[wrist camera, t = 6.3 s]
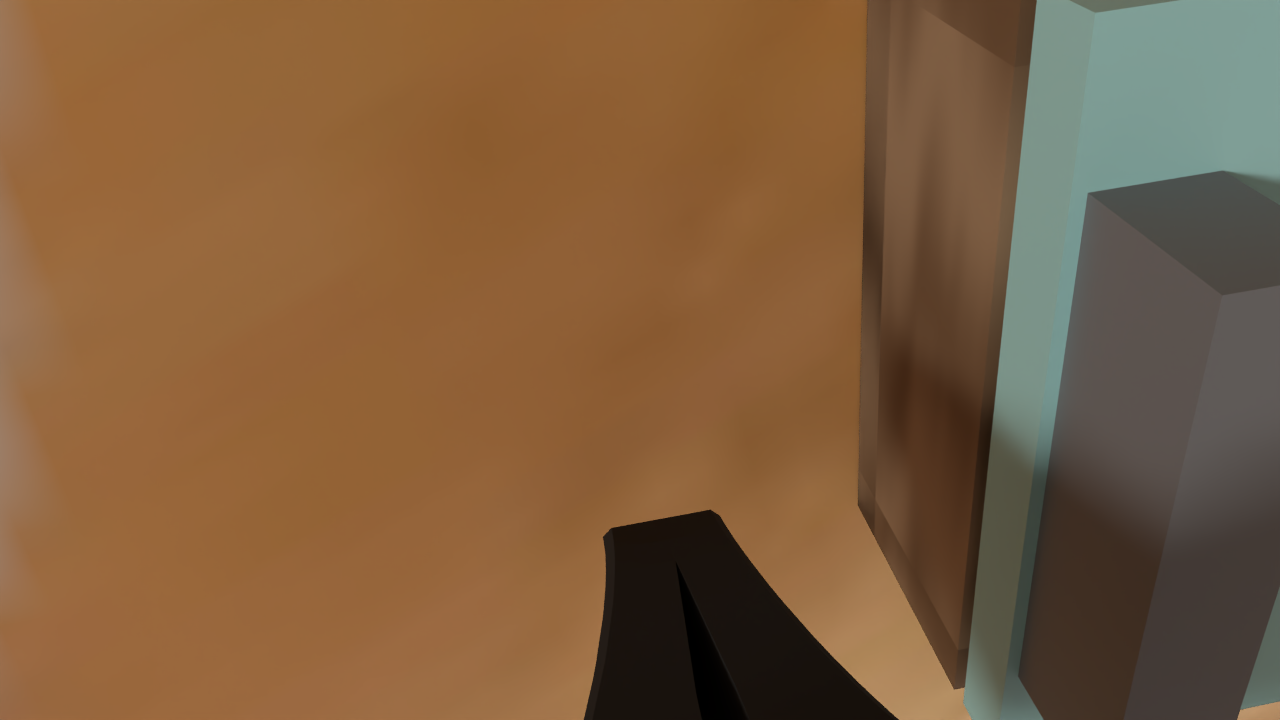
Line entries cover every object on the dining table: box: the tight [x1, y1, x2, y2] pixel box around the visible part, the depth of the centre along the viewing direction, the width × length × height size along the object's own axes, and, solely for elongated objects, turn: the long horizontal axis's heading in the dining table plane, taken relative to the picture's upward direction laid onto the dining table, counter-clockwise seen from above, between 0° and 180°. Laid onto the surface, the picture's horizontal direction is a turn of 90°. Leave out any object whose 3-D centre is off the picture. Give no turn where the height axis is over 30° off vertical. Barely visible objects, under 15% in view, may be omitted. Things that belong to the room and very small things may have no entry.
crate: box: [858, 0, 1037, 689], centre depth 18 cm, size 12×12×5 cm
